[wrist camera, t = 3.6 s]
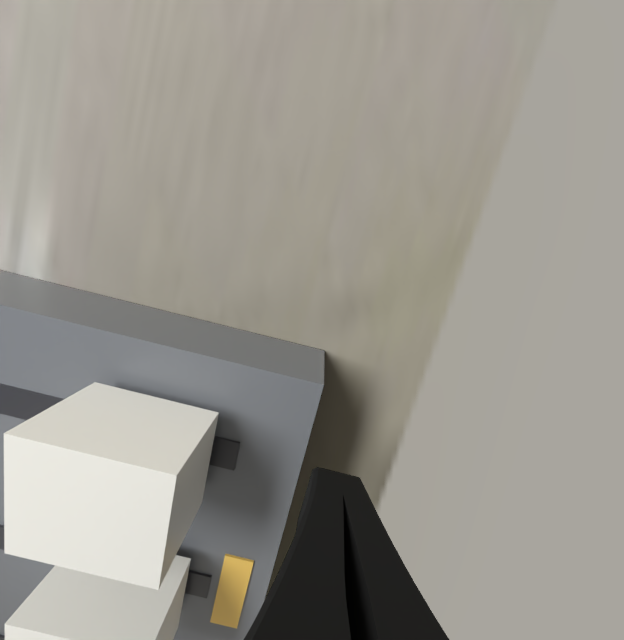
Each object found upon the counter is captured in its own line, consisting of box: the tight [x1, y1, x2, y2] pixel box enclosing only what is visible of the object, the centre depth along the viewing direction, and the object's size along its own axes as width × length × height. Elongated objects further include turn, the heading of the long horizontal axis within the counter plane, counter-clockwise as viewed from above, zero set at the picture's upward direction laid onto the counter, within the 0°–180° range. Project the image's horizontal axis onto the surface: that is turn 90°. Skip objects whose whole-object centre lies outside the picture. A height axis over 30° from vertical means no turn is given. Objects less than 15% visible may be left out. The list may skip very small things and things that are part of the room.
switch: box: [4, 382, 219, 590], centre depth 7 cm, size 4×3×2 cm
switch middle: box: [5, 555, 191, 640], centre depth 9 cm, size 4×3×2 cm
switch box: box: [0, 270, 325, 640], centre depth 12 cm, size 15×17×3 cm
